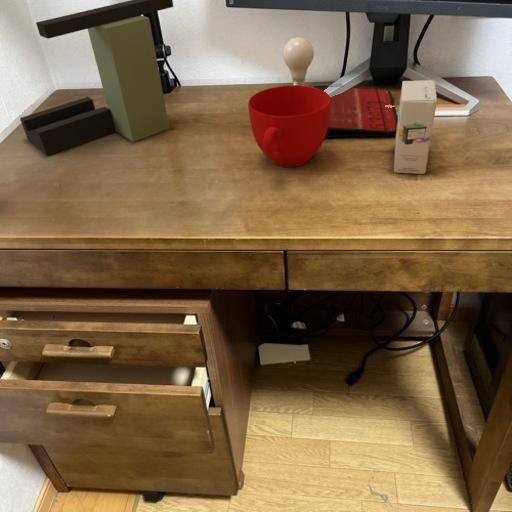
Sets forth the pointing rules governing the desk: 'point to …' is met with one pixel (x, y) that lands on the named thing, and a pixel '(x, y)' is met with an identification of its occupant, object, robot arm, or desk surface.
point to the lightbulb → (298, 58)
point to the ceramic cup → (289, 122)
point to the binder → (361, 113)
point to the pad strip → (99, 16)
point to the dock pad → (67, 125)
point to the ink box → (414, 126)
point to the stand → (130, 76)
